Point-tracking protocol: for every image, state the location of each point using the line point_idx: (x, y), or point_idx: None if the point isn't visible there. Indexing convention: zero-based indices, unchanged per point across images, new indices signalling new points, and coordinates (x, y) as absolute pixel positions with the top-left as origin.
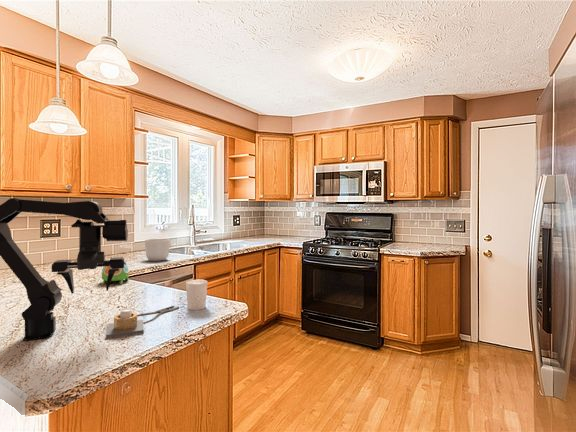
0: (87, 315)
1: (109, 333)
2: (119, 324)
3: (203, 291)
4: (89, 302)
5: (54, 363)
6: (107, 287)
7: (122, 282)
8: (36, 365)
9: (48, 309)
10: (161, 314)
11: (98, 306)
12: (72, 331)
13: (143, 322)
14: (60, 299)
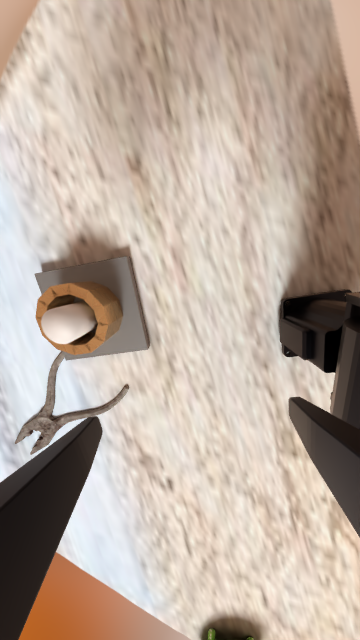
0: (229, 443)
1: (120, 267)
2: (89, 285)
3: None
4: (249, 530)
5: (212, 78)
6: (76, 431)
7: (208, 634)
8: (259, 73)
9: (358, 319)
10: (45, 405)
11: (220, 498)
12: (234, 335)
13: None
14: (336, 411)
